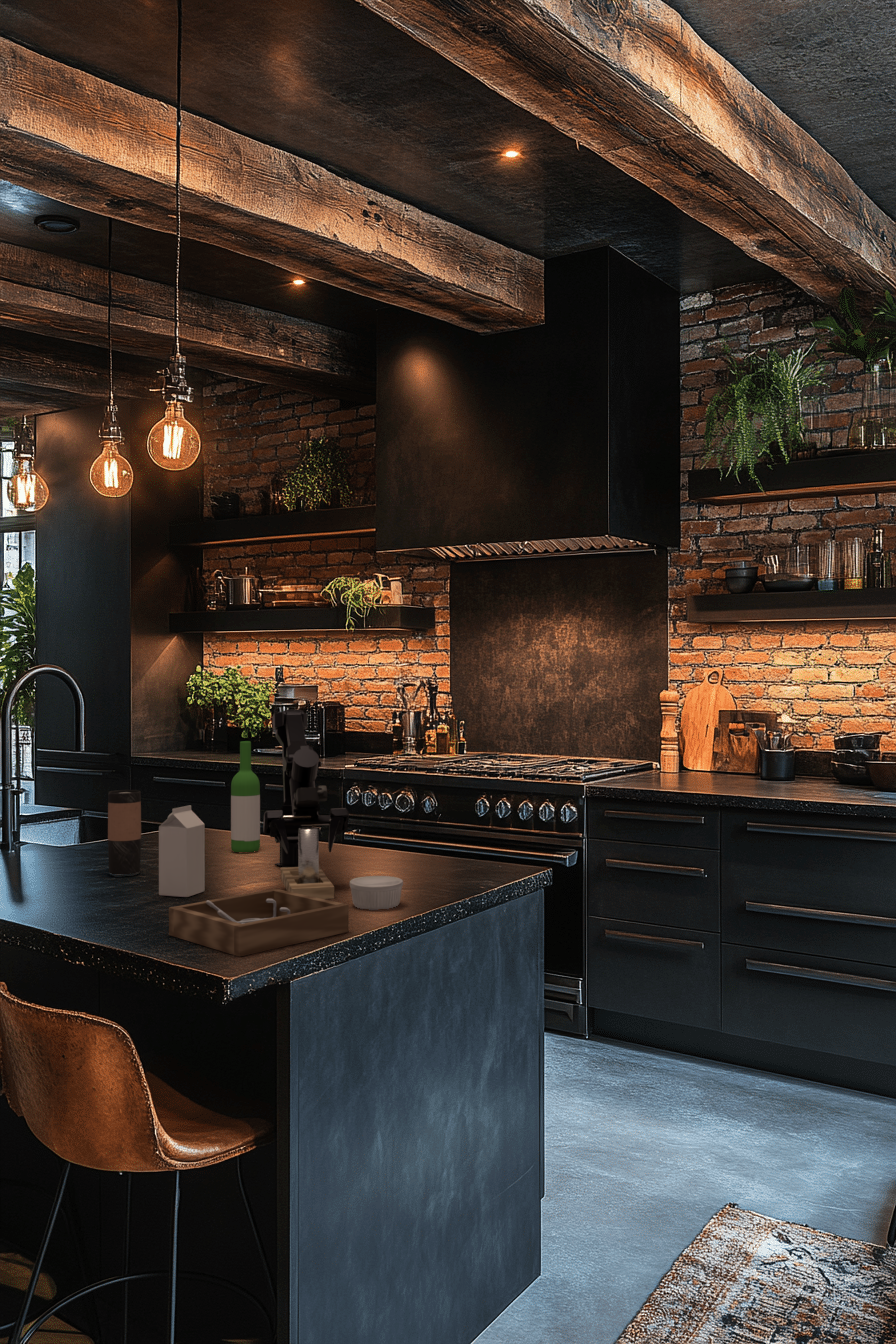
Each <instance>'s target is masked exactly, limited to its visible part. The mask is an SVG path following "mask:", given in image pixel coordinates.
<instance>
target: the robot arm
mask: <svg viewBox="0 0 896 1344" xmlns="http://www.w3.org/2000/svg"><path fill="white" fill-rule="evenodd" d="M307 729H308V713H307V712H304V710H301V709H284V710H282V711H277V712H276V713H274V714H273V716H272V730H273V731H275V732H274V733H275V738H276V740H277V741H278V743H279V745H280V746H281V748H282V749H281V754H282V756H281V757H282V782H283V787H282V788H283V803H282V805H281V807H280V809H278V810H277V809H275V810H266V811H264V814H263V826H262V827H263V828H262V829H263V834H264V835H265V836H269V837H270V838H274V842H275V843H276V844H279V862H275V863H274V866H276V865H278V866H277V867H281V866H282V867H281V868H286V867H298V829H299V828H303V827H314V826H328V833H327V834H328V836H327V837H328V838H327V839H328V840H327V843H328V844H327V846H328V847H327V848H328V852H329V853H331V852H332V850H333V846H334V842H335V840H336V837H337V836H340V835H342V833H344V832H346V831H347V830H348V826H349V821H350V820H349V819H350V812H349V809H347V808H346V807H340V808H339V807H337V808H334V807H333V808H330V811H329V815H319V812H320V810H321V806H320V802H326V801H327V800H328V789H327V788H328V787H327V785H318V786H316V783H315V781H316V780H317V776H318V775H317V774H318V770H319V768H321V767H322V761H321V760H320V758H319V757H320V756H319V754H318V753H317V751H315V750H314V749H313V747H312V746H310V745H308V744H307V740H306V739H307V738H306V733H305V730H307Z"/></svg>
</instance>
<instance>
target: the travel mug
mask: <svg viewBox="0 0 896 1344" xmlns="http://www.w3.org/2000/svg"><path fill="white" fill-rule="evenodd" d="M141 793H142V792H141V790H138V789H120V790H119V789H118V790H111V791H108V798H107V799H108V801H107V802H108V803H107V846H108V847H107V849H108V853H107V854H108V855H107V856H108V873H109V872H110V873H112V874H130V873H131V874H132V873H136V872H139V871H140V872H141V859H142V858H141V856H142V855H141V854H142V853H141V852H142V849H141V848H142V805H141V803H142V801H141V799H142V795H141Z"/></svg>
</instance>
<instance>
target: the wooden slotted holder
mask: <svg viewBox="0 0 896 1344" xmlns="http://www.w3.org/2000/svg"><path fill="white" fill-rule="evenodd" d="M280 880H281V882H282V884H283V886H284V888H285V891H289V892H293V893H298V894H302V895H307V896H311V897H316V898H320V899H325V900H330V899H335V886H334V884H333V883H332V882H331V880H330V879H329V878H328V877H327V875H326V874H325V872H324V871H323V869H321V867H320V866H319V883H307V884H299V873H298V867H280Z"/></svg>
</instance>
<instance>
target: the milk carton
mask: <svg viewBox="0 0 896 1344" xmlns="http://www.w3.org/2000/svg"><path fill="white" fill-rule="evenodd" d="M171 811H172V812H171V813H169V815H168V816H167V819H165V820H164V821H163V822H162V823H161V824H160V825H159V826H158V896H167V897H178V898H180V897H181V898H189V897H191V896H194V895H197V894H201V893H203V892H205V891H206V890H205V886H206V883H205V881H206V879H205V878H206V877H205V866H206V865H205V860H206V859H205V857H206V856H205V852H206V851H205V836H206V835H205V823H204V822H203V820H201V818H199V816H198V815H197V814H196V813H195V812H194V811H193V810H192V805H185V806H180V807H174V808H172V810H171Z"/></svg>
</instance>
